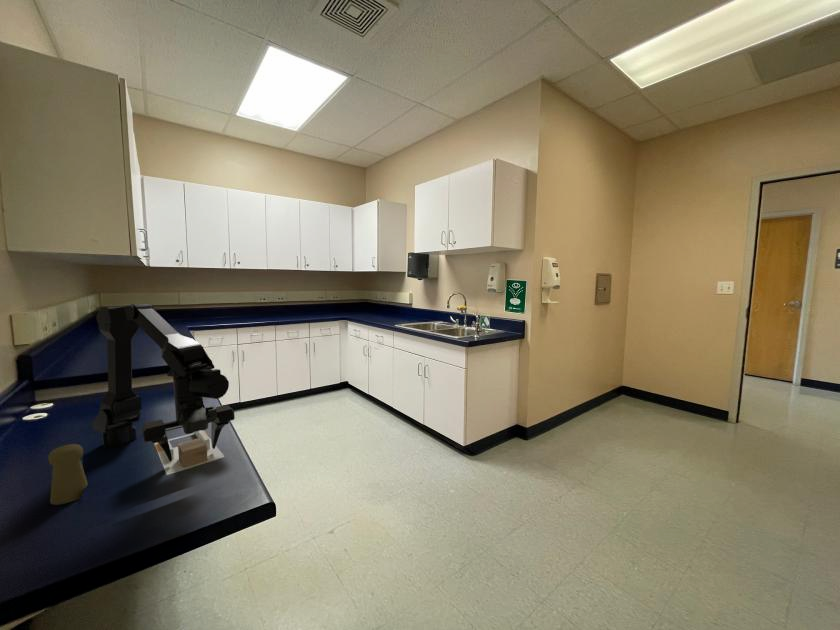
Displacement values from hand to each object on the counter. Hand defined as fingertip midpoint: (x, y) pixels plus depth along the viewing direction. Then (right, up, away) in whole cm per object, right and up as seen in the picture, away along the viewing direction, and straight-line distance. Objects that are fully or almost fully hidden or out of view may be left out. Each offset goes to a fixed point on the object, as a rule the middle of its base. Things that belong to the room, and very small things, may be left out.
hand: (192, 454), depth 87 cm
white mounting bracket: (-4, -2, +5) cm, 7 cm away
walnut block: (0, -1, 0) cm, 1 cm away
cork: (-18, -4, -12) cm, 22 cm away
